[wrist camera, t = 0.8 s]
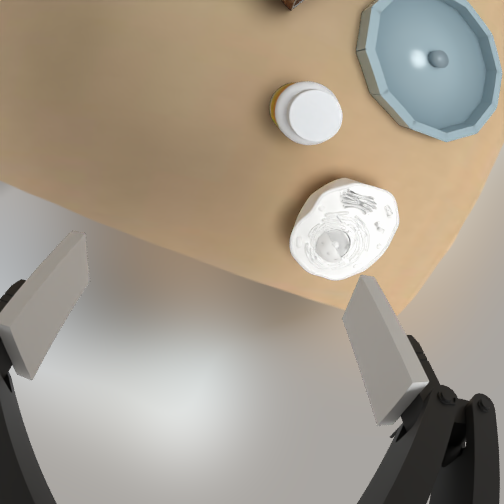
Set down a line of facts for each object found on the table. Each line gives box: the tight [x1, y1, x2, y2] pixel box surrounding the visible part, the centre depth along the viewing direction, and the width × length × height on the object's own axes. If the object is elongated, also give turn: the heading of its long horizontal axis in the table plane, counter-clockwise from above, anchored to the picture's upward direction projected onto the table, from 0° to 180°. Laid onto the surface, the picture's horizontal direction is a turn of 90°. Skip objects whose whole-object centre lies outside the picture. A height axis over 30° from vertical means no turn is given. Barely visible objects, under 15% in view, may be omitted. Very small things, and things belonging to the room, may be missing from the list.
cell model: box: [290, 178, 399, 280], centre depth 32 cm, size 10×12×7 cm
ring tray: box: [356, 0, 502, 142], centre depth 25 cm, size 18×18×3 cm
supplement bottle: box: [270, 81, 342, 145], centre depth 25 cm, size 5×5×10 cm
